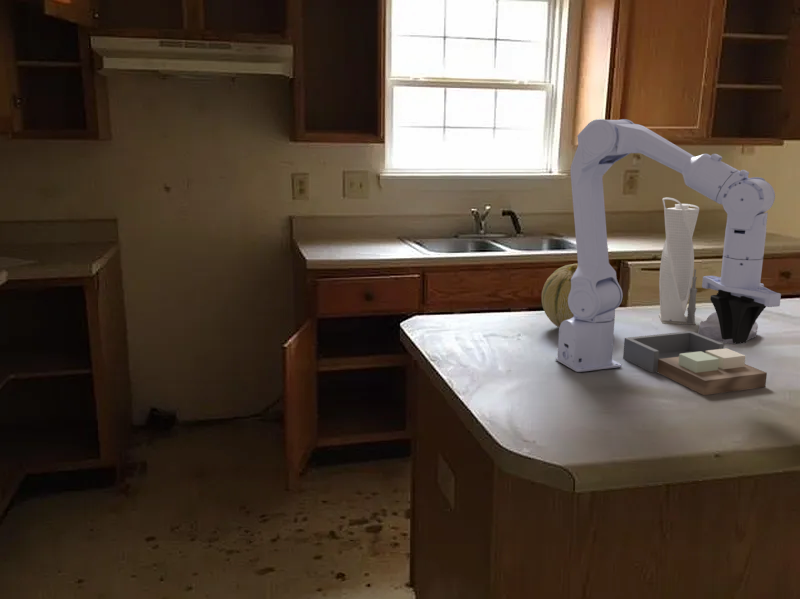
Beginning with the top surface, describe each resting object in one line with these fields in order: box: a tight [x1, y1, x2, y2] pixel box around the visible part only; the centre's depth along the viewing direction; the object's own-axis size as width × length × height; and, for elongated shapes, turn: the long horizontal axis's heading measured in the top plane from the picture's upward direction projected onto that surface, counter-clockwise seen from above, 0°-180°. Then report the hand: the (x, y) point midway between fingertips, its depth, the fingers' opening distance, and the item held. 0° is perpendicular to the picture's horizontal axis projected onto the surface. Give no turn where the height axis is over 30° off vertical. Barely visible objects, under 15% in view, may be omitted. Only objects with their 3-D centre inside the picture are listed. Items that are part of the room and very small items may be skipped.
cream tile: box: [705, 348, 746, 369], centre depth 126 cm, size 4×4×2 cm
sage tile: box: [678, 351, 719, 373], centre depth 124 cm, size 4×4×2 cm
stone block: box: [697, 311, 759, 345], centre depth 151 cm, size 12×5×10 cm
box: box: [622, 330, 725, 374], centre depth 135 cm, size 15×9×4 cm, turn 108°
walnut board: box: [657, 357, 768, 396], centre depth 125 cm, size 12×12×2 cm
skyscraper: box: [658, 196, 700, 326], centre depth 162 cm, size 8×8×28 cm
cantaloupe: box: [541, 263, 578, 328], centre depth 155 cm, size 15×15×15 cm
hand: (733, 340), depth 116 cm, fingers closed
